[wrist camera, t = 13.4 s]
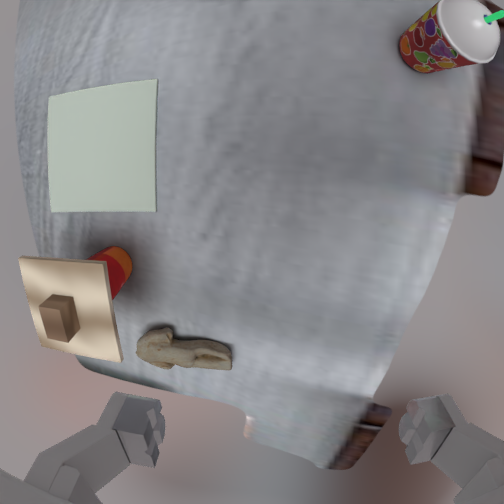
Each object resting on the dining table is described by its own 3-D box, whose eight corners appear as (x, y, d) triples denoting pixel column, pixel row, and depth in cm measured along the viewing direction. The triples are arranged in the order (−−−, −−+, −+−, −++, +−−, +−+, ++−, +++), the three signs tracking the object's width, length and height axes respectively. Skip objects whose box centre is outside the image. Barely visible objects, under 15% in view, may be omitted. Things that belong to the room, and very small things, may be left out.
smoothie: (448, 54, 32) (538, 24, 14) (426, 91, 35) (521, 72, 16) (405, 17, 31) (481, -38, 12) (380, 52, 34) (458, 1, 15)
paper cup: (96, 283, 46) (50, 329, 32) (92, 236, 43) (38, 272, 30) (141, 290, 46) (103, 342, 32) (139, 241, 43) (94, 281, 30)
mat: (50, 97, 36) (49, 96, 36) (158, 79, 36) (156, 78, 35) (53, 211, 42) (51, 212, 42) (156, 211, 42) (155, 211, 41)
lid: (22, 255, 29) (2, 267, 26) (106, 261, 29) (88, 276, 26) (44, 343, 33) (30, 359, 30) (123, 358, 33) (111, 379, 29)
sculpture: (235, 328, 48) (140, 317, 47) (235, 347, 44) (132, 335, 43) (231, 361, 51) (143, 351, 50) (230, 381, 47) (136, 370, 45)
